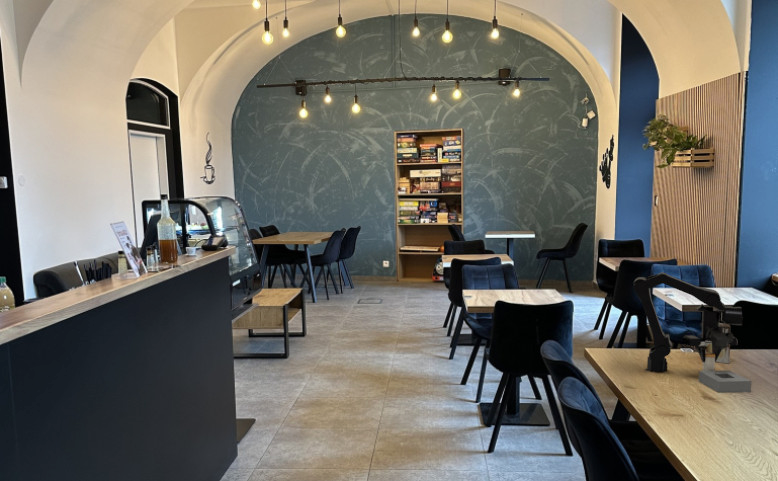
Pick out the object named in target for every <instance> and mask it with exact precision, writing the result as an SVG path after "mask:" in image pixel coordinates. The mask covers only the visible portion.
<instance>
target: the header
mask: <svg viewBox="0 0 778 481" xmlns="http://www.w3.org/2000/svg"><path fill="white" fill-rule="evenodd" d="M698 382H699V383H700V384H703V385H704V386H706V387H708V388H710V389H711V390H713V391H715V392H717V393H719V394H720V393H721V394H722V393H723V394H724V393H751V392H752V380H751V379H748V378H746V377H744V376H742V375H741V374H738V373H736V372H734V371H732V370H715V371H703V370H699V371H698Z"/></svg>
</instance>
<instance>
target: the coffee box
mask: <svg viewBox="0 0 778 481" xmlns="http://www.w3.org/2000/svg"><path fill="white" fill-rule="evenodd" d="M719 326H720V327H721V328H722V333H731V324H725V323H724V322H719ZM705 341H706V340H705ZM705 346H707V349H706V351H705V352H711V353H712V343H705ZM727 346H728V347H726V348H724V349H722V351H721V352H720V354H719V356H718V358H717V360H716V362H715V363H721V364H722V363H723V364H730V360H731V358H730V357H731V345H729V344H728V345H727Z"/></svg>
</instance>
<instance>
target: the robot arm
mask: <svg viewBox="0 0 778 481" xmlns="http://www.w3.org/2000/svg"><path fill="white" fill-rule="evenodd" d="M662 284H664V285H666V286H668V287H670V288H672V289H676V290H678V291H681V292H683V293H685V294H688V295H690V296H692V297H694V298H695V299H697V300H698V301H700V302H701V304H700V305H699V306H698V307H696V309H697V311H698V312H702V319H701V323H700V324H699V326H700V327H701V333H699V337H697V336H695V335H692V334H691V335H684V336H683V337H682V343H684V344H685V345H687V346H690V347H695V349H696V350H697V354H699V357H700V359H701V362H702V363H703V362H705V351H706V349H707V346H705V343H712V353H714V354H715V363H717V362H716V360H717V358H718V356H719V354H720V352H721V351H722V349H724V348H726V347H728V346H727V345H728V344H729V345H730V346H738V339H737V337H735V336H734V334H733V332H730V333H722V328H721V327H720V326H719V323H720V321H721V322H723V323H725V324H729V325H733V326H743V322H744V320H743V312H742V311H743V308H742V307H741V306H725V303H723V302H722V300H721V299H722V298H721V295H720V294H719V292H718V291H717V290H715V289H712V288H707V287H701V286H698V285H694V284H692V283H689V282H687V281H684V280H682V279H679V278H676V277H674V276H672V275H670V274H667V273H666V272H659V273H656V274H653V275H650V276H647V277H642V276H641V277H640V276H639V277H637V278H635V280H634V281H633V284H632V289H633V291H634V292H635V294H636V296H637V298H638V299H639V301H640V302H641V304H642V308H643V310H644V314H645V316H646V320H647V322H648V324H649V327H650V330H651V333H652V340H653V341H652V342H653V346H652V347H651V348H650V349H649V350H648V356H647V362H646V364H647V365H646V368H645V369H644V370H645V371H647V372H648V371H649V372H651V373H652V372H653V373H658V374H659V373H660V374H661V373H665V372H668V361H667V358H666V357H668V356H669V355H670V354H671V353H672V352H671V351H672V350H671V348H672V347H673V343H672V341H671V340H670V334H669V333H666V334H665V332H664V331H663V329H662V326H661V322H660V320H659V317H658V315H657V312H656V311H657V310H656V308H655V306H654V303H653V300H652V295H651V288H654V287H657V286H660V285H662ZM705 305H706V306H705ZM720 316H721V318H720ZM705 340H706V341H705Z"/></svg>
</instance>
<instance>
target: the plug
mask: <svg viewBox="0 0 778 481" xmlns="http://www.w3.org/2000/svg"><path fill="white" fill-rule="evenodd" d="M715 369H716V362H715V354H714V353H711V352H705V362H702V371H716V370H715Z"/></svg>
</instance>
